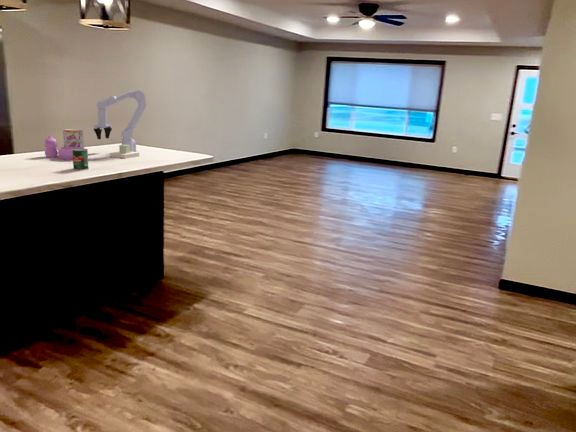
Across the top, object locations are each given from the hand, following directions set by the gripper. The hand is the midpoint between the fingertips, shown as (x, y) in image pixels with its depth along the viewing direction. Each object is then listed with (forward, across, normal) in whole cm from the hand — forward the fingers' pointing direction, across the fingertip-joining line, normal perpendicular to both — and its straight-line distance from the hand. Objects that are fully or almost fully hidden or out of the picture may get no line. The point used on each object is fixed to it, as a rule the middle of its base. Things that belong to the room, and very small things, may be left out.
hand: (103, 138), depth 339 cm
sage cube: (+7, +3, +21) cm, 22 cm away
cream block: (+10, +3, +21) cm, 23 cm away
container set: (+10, +33, -1) cm, 34 cm away
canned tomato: (+10, +54, +34) cm, 64 cm away
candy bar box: (+10, +21, -5) cm, 24 cm away
